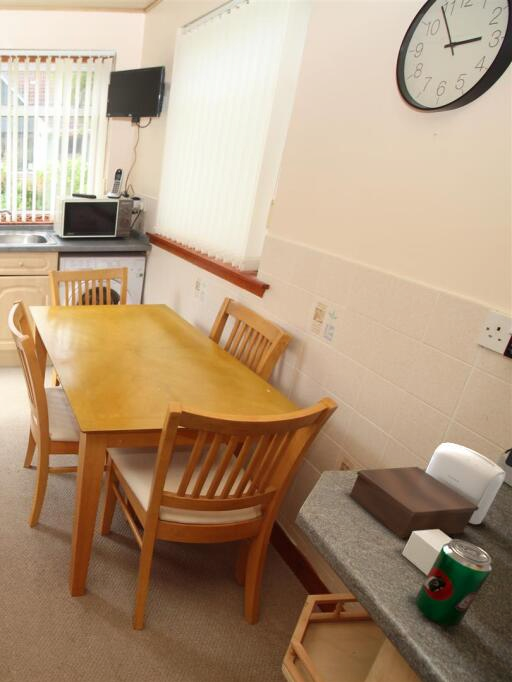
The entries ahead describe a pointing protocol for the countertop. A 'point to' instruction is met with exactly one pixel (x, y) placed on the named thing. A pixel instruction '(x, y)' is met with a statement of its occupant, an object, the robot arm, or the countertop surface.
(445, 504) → the storage box
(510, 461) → the robot arm
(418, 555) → the white box
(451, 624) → the soda can
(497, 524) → the countertop surface
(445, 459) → the photo printer
